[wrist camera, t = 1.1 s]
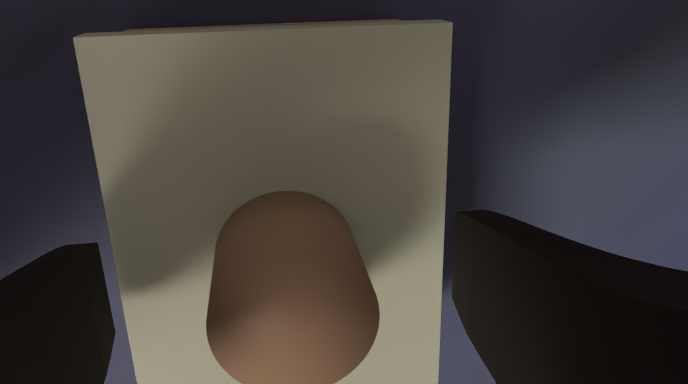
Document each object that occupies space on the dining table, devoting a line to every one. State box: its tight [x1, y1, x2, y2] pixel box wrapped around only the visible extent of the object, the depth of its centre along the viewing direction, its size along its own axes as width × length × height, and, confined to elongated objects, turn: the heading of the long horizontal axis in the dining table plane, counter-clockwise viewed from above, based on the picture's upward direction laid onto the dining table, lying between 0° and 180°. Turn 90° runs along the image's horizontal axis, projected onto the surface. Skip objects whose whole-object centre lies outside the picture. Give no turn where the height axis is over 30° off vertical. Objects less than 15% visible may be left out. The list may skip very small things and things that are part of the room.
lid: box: [73, 19, 453, 384], centre depth 12 cm, size 9×7×4 cm
